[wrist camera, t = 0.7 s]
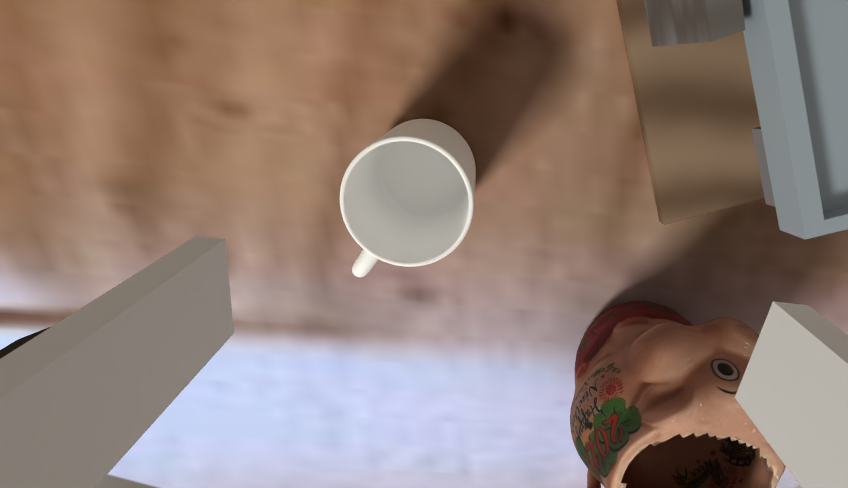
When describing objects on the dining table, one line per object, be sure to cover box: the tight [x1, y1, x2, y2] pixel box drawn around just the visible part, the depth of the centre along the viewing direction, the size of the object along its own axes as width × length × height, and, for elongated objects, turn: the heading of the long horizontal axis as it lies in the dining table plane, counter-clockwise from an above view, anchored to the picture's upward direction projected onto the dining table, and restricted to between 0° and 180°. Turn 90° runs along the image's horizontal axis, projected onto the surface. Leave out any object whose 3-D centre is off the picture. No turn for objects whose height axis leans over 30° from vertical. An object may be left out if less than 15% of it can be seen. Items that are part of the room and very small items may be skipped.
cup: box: [340, 119, 476, 277], centre depth 34 cm, size 8×12×10 cm
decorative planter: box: [570, 302, 786, 488], centre depth 36 cm, size 20×12×14 cm, turn 164°
